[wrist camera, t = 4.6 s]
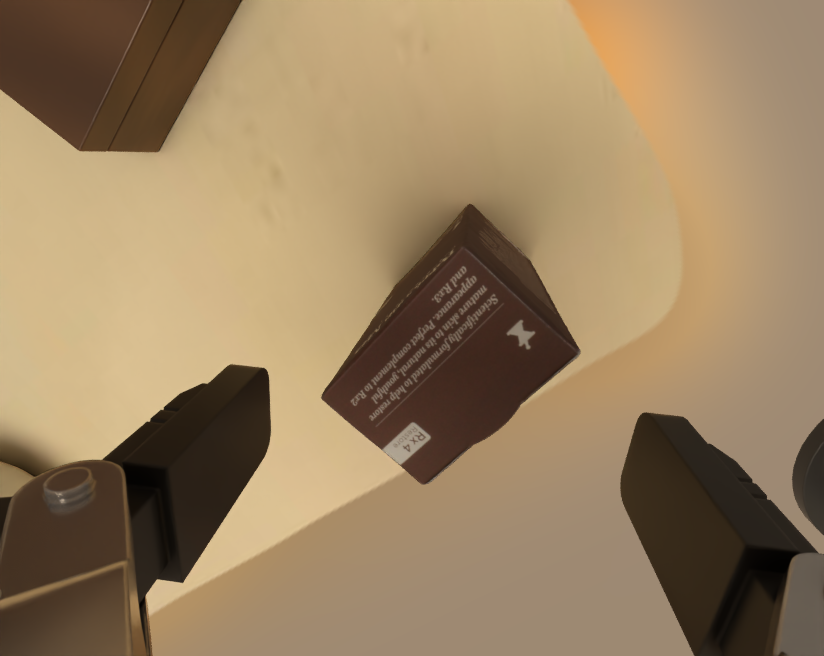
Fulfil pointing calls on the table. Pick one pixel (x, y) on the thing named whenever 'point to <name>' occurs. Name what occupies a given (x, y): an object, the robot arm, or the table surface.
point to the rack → (107, 65)
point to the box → (452, 350)
